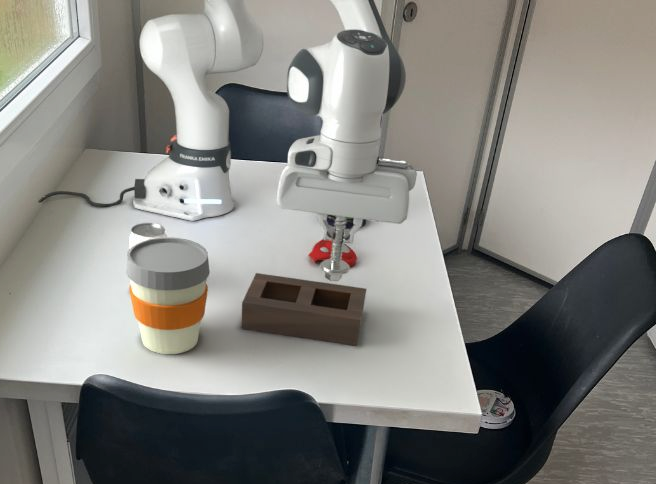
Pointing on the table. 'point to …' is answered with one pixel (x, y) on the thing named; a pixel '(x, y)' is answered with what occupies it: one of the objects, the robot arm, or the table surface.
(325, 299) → the holder
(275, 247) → the table surface
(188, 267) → the reusable coffee cup
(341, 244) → the screw
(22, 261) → the table surface
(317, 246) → the tracker holder
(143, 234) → the can
